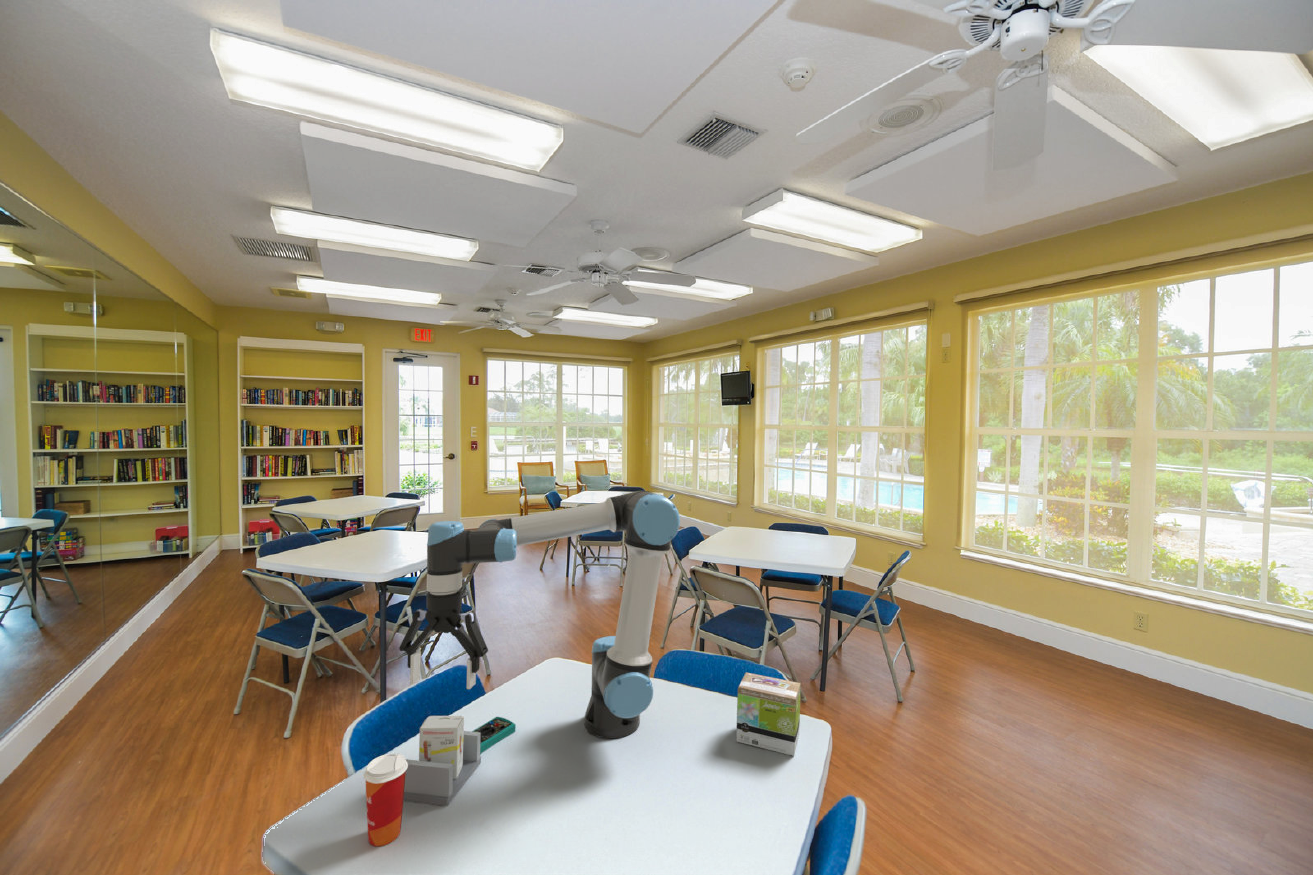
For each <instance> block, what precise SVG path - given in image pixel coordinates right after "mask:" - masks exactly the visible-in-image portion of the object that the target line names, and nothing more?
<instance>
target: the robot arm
mask: <svg viewBox="0 0 1313 875" xmlns="http://www.w3.org/2000/svg"><path fill="white" fill-rule="evenodd" d="M680 525H681V516H680V512H679V510H678V508H677V507H676V505H675V503H674V502H673V501H671V499H669V498H667V497H666V496H665V495H662V494H659V493H658V494H657V493H654V492H652V491H647V490H636V491H633V492H628V493H623V494H619V495H616V496H609V497H607V498H606V500H605V501H603V502H596V503H589V504H585V505H580V506H574V507H568V508H561V509H557V510H549V511H543V512H539V513H532V514H527V515H522V516H521V515H520V516H515V517H511V518H504V519H496V518H492V519H491V518H490V519H488V520H484V522H482V523H481V524H480V525H479V526H478V528H477V529H476V530H475V529H472V530H471V529H470V530H469V529H465V528H464V523H463V522H461V521H458V520H444V521H437V522H433V523H431V525H429V526H428V531H427V532H428V533H427V543H426V549H427V550H426V551H427V552H426V559H427V560H426V567H427V568H426V591H427V593H426V602H425V604H426V606H425V607H426V610H425V609H424V608H419V609H417V610H415V611H414V612H413V614H412V620H411V623H410V626H409V628H408V629H407V631H406V633H405V635H404V637H403V639H402V641H401V643H400V646H399V647H398V649H399V651H400V652H405V653H406V654H407V663H406V664H407V668H409V669H410V672H409V673H410V674H409V679H410V680H409V681H410V682H409V684H410V685H415V684H416V683H417V682H419V680H421V661H422V660H421V659H422V658H421V656H422V655H421V654H422V653H421V652H422V651H421V650H419V648H420V647H421V645H422V644H423V643H424V642H425V641H426V640H427V639H428V638H429V636H430V635H431V634H432V633H433V631H434V633H436V634H437V633H443V634H449V633H450V634H451V636H453V637H455V638H456V641H458V644H460V645H461V647H462V648H463V650H464V651H465V652H466V653H467V654H468V656H469V658H467V659H466V689H467V690H471V689H472V688H473V687H474V686H475V685H476V682H477V681H476V680H477V676H476V675H477V672H479V670H480V661H481V660H480V658H483V656H485V655H486V654H488V652H489V648H488V646H487V644H486V641H485V639H484V636H483V635H482V631H481V630H480V628H479V626H478V623H477V620H476V613H475V612H474V611H473V610H472V611H470V612H469V613H468V612H467V613H463V611H462V606H463V590H462V587H463V564H479V563H480V564H481V563H483V564H484V563H503V562H505V563H506V562H511V561H514V560H515V559H516V557H517V548H518V547H519V546H520V547H521V546H526V545H532V544H537V543H543V542H547V541H553V540H558V539H559V540H560V539H564V538H569V537H575V536H580V535H581V536H582V535H585V534H592V533H596V532H602V531H607V530H609V531H611V532H612V533H618V532H625V537H624V545H625V547H626V548H627V550H628V555H627V556H628V557H627V564H626V569H625V575H624V581H623V587H622V588H623V589H622V593H621V599H620V606H619V612H618V619H617V623H616V631H615V635H608V636H603V637H600V638H597V639H595V640H594V641H593V643H592V650H591V695H590V698H589V700H588V704H587V707H586V710H585V713H584V728H585V730H586V731H587V732H588V733H590V734H591V735H593V736H595V737H599V738H604V739H618V738H619V739H620V738H622V737H626V736H629V735H631V734H633V733H634V732H635V731H637V730H638V728H639V727H640V721H641V719H640V718H641V714H642V713H643V712H645V711H646V710H647V709H648V707H649V706H650V705H651V703H652V700H653V697H654V686H653V682H652V680H651V672H652V664H653V657H652V655H651V653H650V651H649V645H650V639H651V632H652V626H653V620H654V614H655V606H656V600H657V594H658V588H659V583H660V582H659V580H660V575H661V568H662V562H663V557H664V555H667V554H668V553H669V552H670V549H671V544H672V540H673V539H674V538H675V537H676V536H677V534H678V533H679V530H680ZM424 620H426V621H427V625H426V627H425V628H423V630H422V632H421V633H420V634H419V636H418V637H417V638H416V639H415V636H416V635H417V633H418V631H419V629H420V627H421V625H422V623H423V621H424ZM462 621H463V623H462ZM463 624H464V625H465V626H464V625H463ZM465 628H466V629H465ZM466 630H467V631H466Z"/></svg>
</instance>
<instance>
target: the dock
mask: <svg viewBox="0 0 1313 875" xmlns="http://www.w3.org/2000/svg"><path fill="white" fill-rule="evenodd" d="M480 734H481V733H480V732H472V731H468V730H464V736H463V766H462V769H461V771H460V773H459V775H458V777H457V779H453V764H444V763H435V762H426V761H419V760H416V759H415V760H414V759H406V758H405V759H406V761H407V763H408V768H407V770H406V775H405V787H404V800H403V802H405V801H406V802H410V803H411V802H413V803H419V804H420V803H421V804H428V805H434V806H435V805H436V806H444V807H445V806H446V807H448V806H449V804H450V803H451V802H452V801H453V800H454V798H455V797H456V795H458V793H460V790H461V789H462V788H463V786H464V785H466V783H467V781H469V779H470V778H471V776H472V775H473V774H474V772H475V771H476V770H477V768H478V767H479V766H481V762H482V756H481V754H480Z"/></svg>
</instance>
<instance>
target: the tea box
mask: <svg viewBox="0 0 1313 875" xmlns="http://www.w3.org/2000/svg"><path fill="white" fill-rule="evenodd" d="M801 686H802V685H801V682H796V681H791V680H788V679H781V678H777V677H771V676H766V675H762V674H756V673H750V672H745V673H744V676H743V677H742V679H741V681H740V683H739V685H738V687H737V703H736V704H737V705H736V708H737V709H736V742H737V743H740V744H746V745H750V746H754V747H758V748H762V749H765V750H769V751H773V752H777V753H779V754H780V753H781V754H784V755H787V756H790V755H792V756H791V757H794V756H795V755H796V748H797V745H798V740H799V736H800V724H801V722H800V720H801V717H800V716H801Z"/></svg>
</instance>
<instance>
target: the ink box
mask: <svg viewBox="0 0 1313 875" xmlns="http://www.w3.org/2000/svg"><path fill="white" fill-rule="evenodd" d="M464 725H465V717H463V716H462V715H429V716H428V717H427V718H426V719H424V721H423V722H422V725H421V726H420V727H419V738H418V739H419V740H418V741H419V742H418V744H419V745H418V746H419V748H418V749H419V750H418V761H426V762H435V763H444V764H453V779H457V777H458V775H459V773H460V771H461V769H462V766H463V736H464V731H465V730H464V729H465V728H464Z"/></svg>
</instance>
